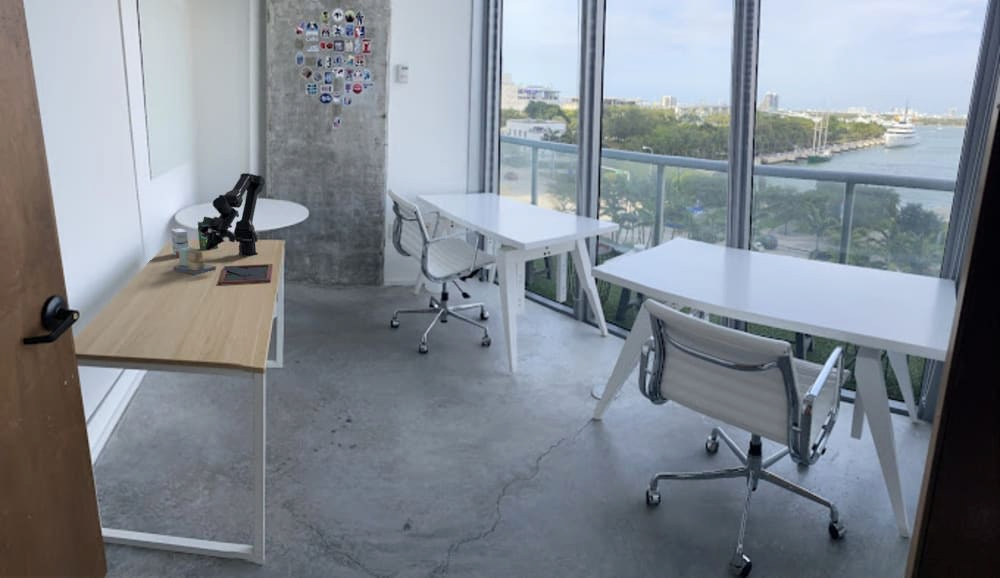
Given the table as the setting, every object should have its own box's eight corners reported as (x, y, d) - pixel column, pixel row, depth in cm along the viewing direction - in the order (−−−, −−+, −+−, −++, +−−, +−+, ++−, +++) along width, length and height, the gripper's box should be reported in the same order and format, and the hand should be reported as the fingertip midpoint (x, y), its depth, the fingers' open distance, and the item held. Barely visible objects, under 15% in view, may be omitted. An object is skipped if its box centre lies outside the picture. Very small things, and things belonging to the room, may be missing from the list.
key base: (194, 264, 323) (194, 261, 323) (215, 269, 316) (215, 266, 316) (173, 270, 315) (173, 266, 314) (194, 275, 308) (194, 271, 307)
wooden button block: (196, 266, 314) (195, 250, 312) (203, 268, 312) (202, 251, 310) (187, 268, 310) (185, 252, 308) (194, 270, 308) (192, 253, 306)
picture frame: (224, 270, 318) (218, 286, 295) (224, 265, 318) (218, 281, 295) (272, 267, 323) (270, 283, 300) (272, 263, 323) (270, 279, 300)
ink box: (190, 256, 337) (187, 231, 334) (178, 257, 334) (175, 232, 331) (184, 252, 343) (181, 227, 340) (173, 254, 340) (170, 229, 337)
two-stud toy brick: (189, 262, 320) (187, 246, 318) (196, 264, 318) (194, 247, 315) (180, 264, 316) (178, 248, 314) (187, 266, 314) (185, 250, 312)
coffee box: (217, 246, 354) (215, 220, 351) (218, 248, 352) (215, 221, 348) (199, 248, 351) (196, 221, 347) (200, 249, 348) (197, 222, 345)
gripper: (198, 206, 318) (179, 236, 313) (227, 211, 309) (208, 242, 303) (216, 221, 327) (197, 250, 321) (244, 226, 318) (225, 256, 312)
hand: (206, 249), depth 314 cm, fingers closed
